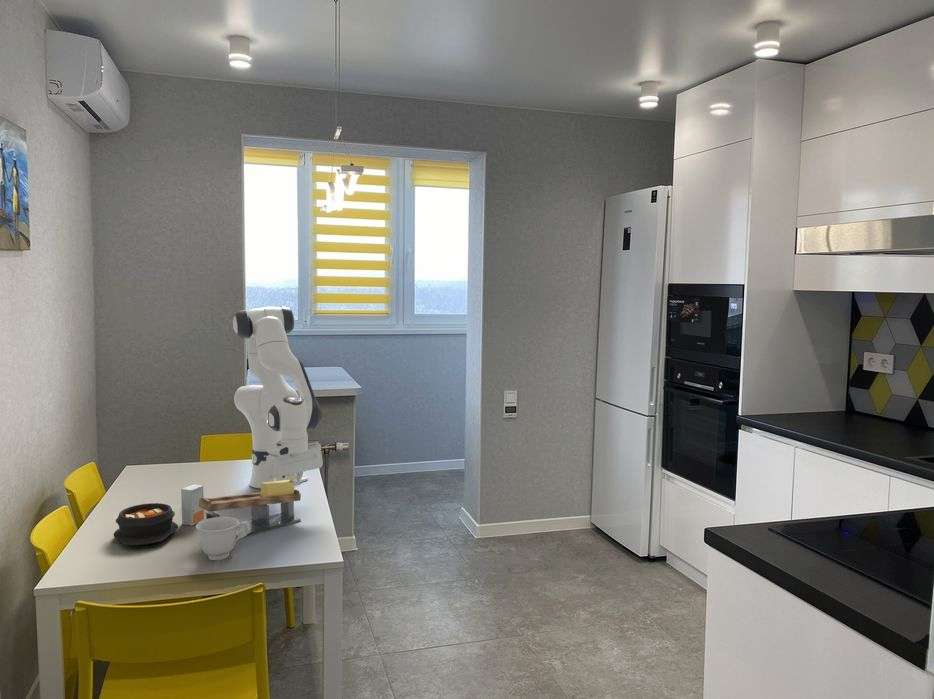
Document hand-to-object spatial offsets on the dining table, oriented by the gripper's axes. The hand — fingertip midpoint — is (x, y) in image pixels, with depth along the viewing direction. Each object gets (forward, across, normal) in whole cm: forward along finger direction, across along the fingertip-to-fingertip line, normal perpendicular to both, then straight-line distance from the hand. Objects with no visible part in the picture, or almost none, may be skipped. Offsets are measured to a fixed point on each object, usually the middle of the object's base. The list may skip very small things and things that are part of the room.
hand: (295, 485), depth 242 cm
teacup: (+11, +33, +15) cm, 38 cm away
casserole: (+11, +43, -17) cm, 48 cm away
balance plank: (+3, +16, 0) cm, 16 cm away
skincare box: (+11, +27, -19) cm, 35 cm away
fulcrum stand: (+11, +16, 0) cm, 20 cm away
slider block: (+2, +7, 0) cm, 7 cm away
